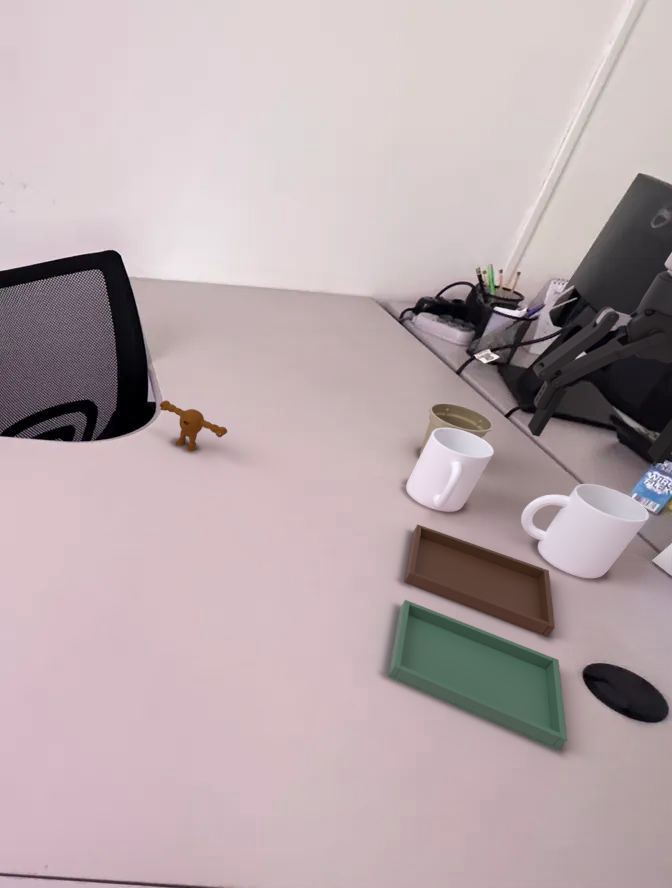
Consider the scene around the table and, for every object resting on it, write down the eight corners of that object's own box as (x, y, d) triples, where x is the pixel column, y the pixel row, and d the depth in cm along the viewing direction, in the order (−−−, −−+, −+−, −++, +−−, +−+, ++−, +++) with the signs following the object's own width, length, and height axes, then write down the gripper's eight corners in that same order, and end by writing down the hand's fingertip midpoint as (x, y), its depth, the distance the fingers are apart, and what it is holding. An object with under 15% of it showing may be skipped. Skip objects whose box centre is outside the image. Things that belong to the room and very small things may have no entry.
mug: (505, 552, 94) (543, 493, 89) (506, 523, 100) (542, 466, 94) (605, 589, 90) (653, 529, 84) (601, 557, 96) (645, 498, 90)
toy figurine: (148, 436, 112) (156, 400, 108) (161, 428, 114) (169, 393, 111) (210, 467, 106) (221, 430, 102) (222, 459, 108) (233, 422, 104)
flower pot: (396, 448, 116) (417, 404, 111) (438, 443, 119) (460, 400, 114) (437, 479, 109) (462, 433, 104) (481, 473, 112) (507, 428, 107)
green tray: (549, 671, 77) (558, 659, 76) (556, 752, 68) (567, 740, 67) (398, 611, 83) (405, 599, 82) (387, 677, 74) (394, 666, 73)
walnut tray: (541, 581, 90) (548, 570, 89) (546, 639, 81) (555, 627, 80) (411, 535, 96) (417, 524, 95) (403, 584, 87) (409, 572, 86)
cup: (462, 493, 106) (492, 438, 100) (462, 533, 97) (496, 476, 91) (405, 475, 109) (432, 421, 103) (401, 513, 100) (430, 456, 94)
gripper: (821, 291, 73) (694, 454, 85) (564, 249, 79) (479, 408, 91) (865, 313, 67) (722, 485, 79) (583, 266, 73) (490, 433, 85)
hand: (592, 444), depth 85 cm, fingers open, 13 cm apart
